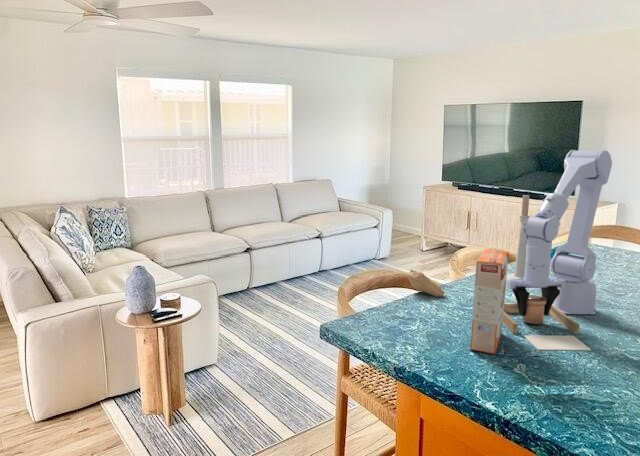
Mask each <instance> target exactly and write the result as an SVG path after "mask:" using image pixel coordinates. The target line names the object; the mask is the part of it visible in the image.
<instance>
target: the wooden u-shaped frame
mask: <svg viewBox="0 0 640 456" xmlns="http://www.w3.org/2000/svg"><path fill="white" fill-rule="evenodd" d="M513 313H514V314H515V313H516V314H519V309H518V304H517V302H504V312H503V322H502V325H504V327H506V328H507V329H508V330H509V331H510V332H511V334H513V335H515V334H518V323H517V322H516V320H514V319H513V318H512V317H511V316H510V315H509V314H513ZM548 315H549V316H550V317H551V318H552V319H553V320H555V321H556V322H558V323H559V324H560V325H562V326H563V327H564V328H565V329H567V330H568V331H569V332H571V333H572V334H574V335H579V332H580V324H579V322H577V321H575V320H573V319H572V318H571V317H570V316H568V314H564V313H562V312H561V311H560V310H558V309H557V308H555V307H554V306H553V305H552V306H551V308H550V311H549V314H548Z"/></svg>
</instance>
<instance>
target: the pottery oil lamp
mask: <svg viewBox="0 0 640 456" xmlns="http://www.w3.org/2000/svg"><path fill="white" fill-rule="evenodd" d="M406 274H407V278H408V281H409V282H410V285H411V287H413V288H414V289H416V290H417V291H419V292H420V293H426V294H428V295H430V296H433V297H437V298H439V297H440V298H441V297H444V295H445V291H444V290H443V289H442V288H441V287H440V285H438V284H437V283H435V282H434V281H433V280H432V279H431V278H430V277H427V275H425V274H424V273H422V272H421V271H418V270H413V269H410V270H409V272H408V273H406Z"/></svg>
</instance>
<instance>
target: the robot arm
mask: <svg viewBox="0 0 640 456" xmlns="http://www.w3.org/2000/svg"><path fill="white" fill-rule="evenodd" d="M563 161H564V162H563V168H564V172H563V174H562V175H561V177H560V179H559V182H558V184H557V185H556V188H555V189H554V191H553V192H552V193H549V194H547V195H546V197H544V199H543V200H542V203H541V204H540V206H539V207H538V209H537V211H536V212H535V214H534V215H533V216H530V217H529V218H528V219H527V220H526V222H525V224H524V227H523V234H524V236H525V244H526V263H525V276H524V278H519V279H512V280H507V283H506V288H508V289H510V290H512V292H513V294H514V297H515V300H516V303H517V304H518V309H519V313H518V314H519V315H520V316H522V317H523V316H525V315H526V305H527V300H528V297H529V295H531V294H530V292H528V289H530V288H531V289H537V288H540V289H541V297H544V298H546V299H547V302H546V305H545V310H544V317H545V316H548V315H549V311H550V308H551V306H552V305H553V306H554V307H555V308H557V309H558V310H560V311H561V312H562V313H564V314H565V315H596V313H597V312H596V311H595V306H596V298H597V287H596V283H595V282H594V280H592V279H593V277H594V275H595V272H596V267H597V265H596V261H597V260H596V259H597V255H596V253H595V252H594V250H592V249H591V248H590V247H589V246H588V245H589V242H590V241H589V240H590V236H591V233H592V230H593V229H592V228H593V224H594V221H595V216H596V212H597V209H598V203H599V200H600V196H601V192H602V187H603V186H604V185H606V184H608V181H609V178H610V175H611V170H612V166H613V160H612V156H611V154H610V152H609V151H608V150H606V149H603V150H576V149H570V150H569V152H568V153H567V154H566V155H565V158H564V160H563ZM578 185H579V187H580V188H579V191H578V196H577V200H576V204H575V208H574V212H573V217H572V220H571V225H570V228H569V233H568V236H567V240H566V242H564V243H563V244H561V245H559V246H557V247H556V250H555V253H554V256H553V257H552V258H551V256H552V244H553V241H554V240H555V239H556V238H557V236H558V233H559V229H560V226H561V222H560V221H561V219H562V218H563V215H564V214H565V213H566V211H567V209H568V208H569V206H570V203H569V200H568V199H569V198H570V196H571V195H572V194H573V192H574V191H575V190H576V188H577V187H578ZM550 269H551V272H552V273H553V274H554V278H551V277H550Z"/></svg>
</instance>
